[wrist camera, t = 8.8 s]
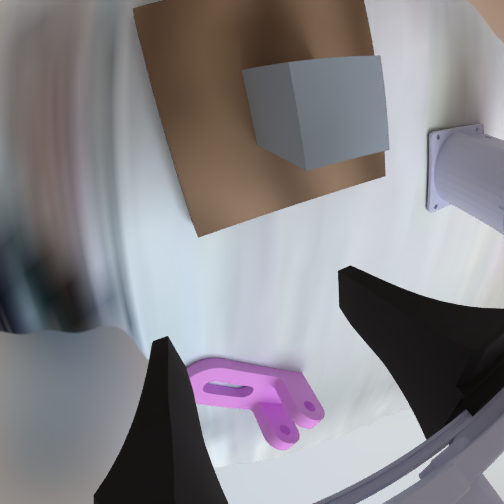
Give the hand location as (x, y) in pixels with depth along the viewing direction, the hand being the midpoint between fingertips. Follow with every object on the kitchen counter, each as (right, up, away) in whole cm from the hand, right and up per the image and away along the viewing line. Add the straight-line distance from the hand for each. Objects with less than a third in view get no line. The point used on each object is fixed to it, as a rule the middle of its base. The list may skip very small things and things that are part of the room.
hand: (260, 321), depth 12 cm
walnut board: (+1, +13, +6) cm, 14 cm away
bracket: (-2, -10, +18) cm, 21 cm away
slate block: (+2, +11, +4) cm, 12 cm away
